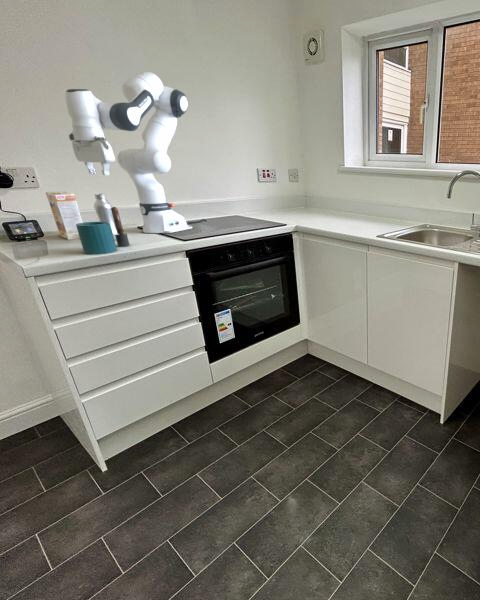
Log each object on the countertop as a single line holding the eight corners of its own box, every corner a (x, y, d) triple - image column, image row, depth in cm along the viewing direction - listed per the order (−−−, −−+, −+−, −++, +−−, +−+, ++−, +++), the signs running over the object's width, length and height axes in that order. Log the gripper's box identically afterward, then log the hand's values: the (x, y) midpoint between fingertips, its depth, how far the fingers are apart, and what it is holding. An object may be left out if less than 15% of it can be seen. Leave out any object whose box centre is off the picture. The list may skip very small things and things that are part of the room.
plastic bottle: (109, 241, 155) (96, 195, 147) (99, 240, 157) (86, 194, 149) (124, 239, 160) (113, 194, 153) (114, 237, 162) (102, 193, 155)
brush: (126, 244, 151) (116, 206, 146) (131, 245, 150) (122, 206, 144) (115, 246, 148) (105, 206, 142) (121, 247, 146) (111, 207, 141)
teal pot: (107, 247, 145) (100, 220, 141) (122, 250, 142) (115, 223, 138) (79, 252, 137) (70, 223, 133) (93, 255, 133) (85, 226, 129)
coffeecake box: (59, 235, 164) (44, 191, 157) (78, 233, 169) (65, 191, 162) (67, 240, 155) (53, 194, 148) (88, 237, 161) (75, 193, 154)
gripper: (114, 137, 133) (123, 175, 138) (85, 137, 141) (94, 173, 146) (95, 135, 128) (105, 175, 133) (65, 135, 136) (76, 173, 140)
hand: (99, 174), depth 139 cm, fingers open, 8 cm apart
